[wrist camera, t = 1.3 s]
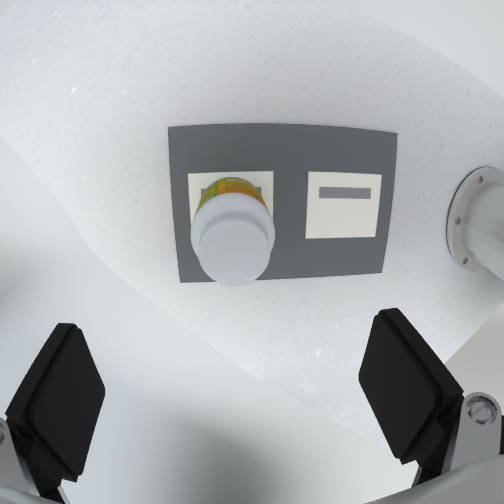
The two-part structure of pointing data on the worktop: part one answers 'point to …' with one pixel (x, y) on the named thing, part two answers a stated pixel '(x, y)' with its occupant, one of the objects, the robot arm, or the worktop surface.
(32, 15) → the worktop surface
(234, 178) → the supplement bottle
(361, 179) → the label mat
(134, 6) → the worktop surface
